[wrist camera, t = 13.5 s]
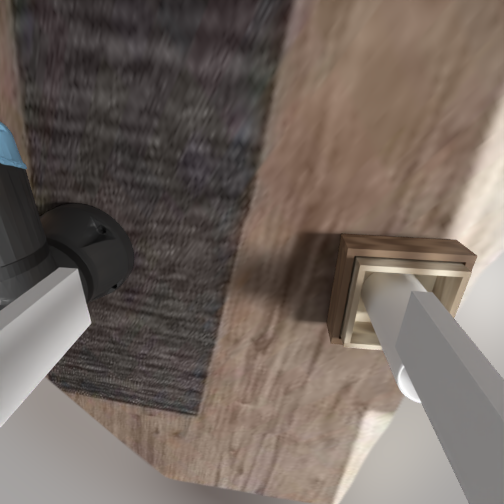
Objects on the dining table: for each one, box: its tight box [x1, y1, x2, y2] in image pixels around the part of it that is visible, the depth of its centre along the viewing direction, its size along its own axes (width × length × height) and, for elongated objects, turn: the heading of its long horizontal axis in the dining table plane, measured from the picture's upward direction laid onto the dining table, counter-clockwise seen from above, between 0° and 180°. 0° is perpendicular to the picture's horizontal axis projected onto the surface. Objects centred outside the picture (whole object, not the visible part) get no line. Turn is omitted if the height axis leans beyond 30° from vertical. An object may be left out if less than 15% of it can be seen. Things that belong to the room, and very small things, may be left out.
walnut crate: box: [327, 234, 477, 345], centre depth 45 cm, size 16×16×5 cm
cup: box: [361, 272, 427, 404], centre depth 38 cm, size 8×8×16 cm
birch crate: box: [340, 256, 472, 350], centre depth 43 cm, size 13×13×6 cm
